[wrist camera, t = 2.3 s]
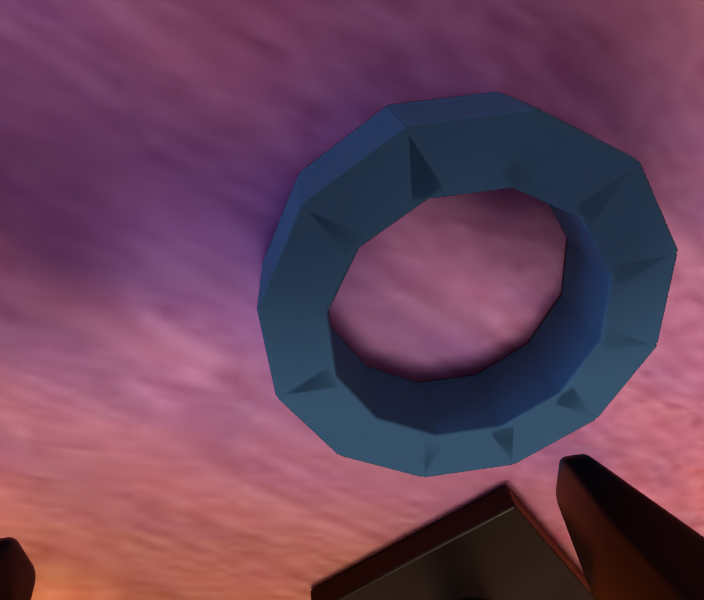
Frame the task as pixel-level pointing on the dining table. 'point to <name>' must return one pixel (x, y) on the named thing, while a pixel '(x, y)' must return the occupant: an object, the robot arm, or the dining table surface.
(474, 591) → the peg stand
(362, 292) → the dining table surface
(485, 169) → the blue ring
